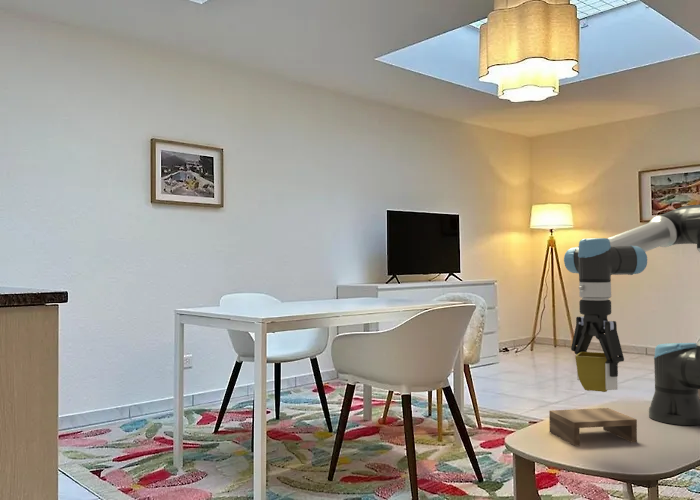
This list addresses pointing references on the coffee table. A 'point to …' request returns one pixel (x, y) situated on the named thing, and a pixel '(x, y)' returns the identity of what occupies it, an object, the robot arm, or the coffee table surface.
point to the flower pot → (591, 370)
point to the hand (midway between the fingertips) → (596, 384)
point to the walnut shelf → (591, 423)
